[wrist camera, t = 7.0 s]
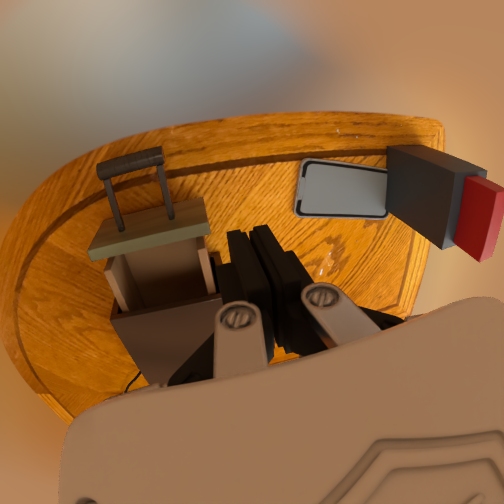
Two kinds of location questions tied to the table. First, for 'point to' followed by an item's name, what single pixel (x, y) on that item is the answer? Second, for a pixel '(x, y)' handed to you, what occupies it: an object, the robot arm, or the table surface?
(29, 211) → the table surface
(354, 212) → the smartphone
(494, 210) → the red rectangular block
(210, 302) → the cabinet
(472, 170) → the stand
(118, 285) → the drawer
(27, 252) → the table surface
